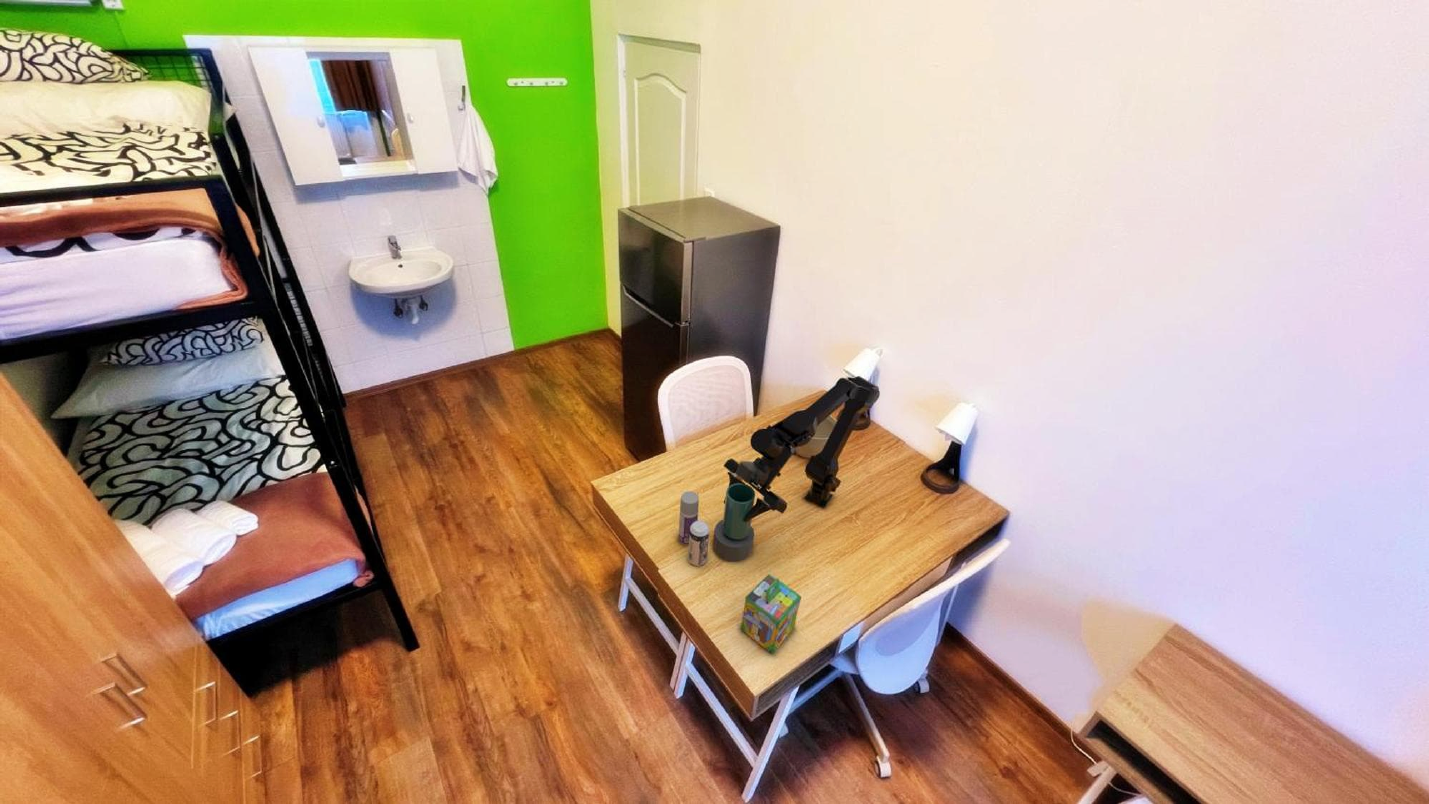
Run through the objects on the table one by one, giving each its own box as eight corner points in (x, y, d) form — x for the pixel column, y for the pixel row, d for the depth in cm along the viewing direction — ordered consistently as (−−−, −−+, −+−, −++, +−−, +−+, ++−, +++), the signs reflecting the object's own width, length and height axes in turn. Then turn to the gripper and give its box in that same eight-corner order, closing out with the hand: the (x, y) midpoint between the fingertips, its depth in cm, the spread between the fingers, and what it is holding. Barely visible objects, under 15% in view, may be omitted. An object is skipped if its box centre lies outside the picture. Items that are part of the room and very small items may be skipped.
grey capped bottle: (704, 568, 139) (707, 535, 132) (686, 564, 139) (688, 531, 133) (708, 554, 143) (711, 521, 136) (690, 550, 143) (692, 517, 137)
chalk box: (772, 655, 121) (781, 613, 112) (739, 629, 125) (746, 587, 117) (795, 627, 127) (806, 586, 118) (763, 603, 131) (771, 562, 123)
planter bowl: (836, 467, 175) (843, 440, 169) (786, 464, 175) (791, 436, 169) (828, 436, 189) (834, 410, 183) (781, 433, 188) (786, 407, 182)
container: (698, 535, 148) (702, 493, 139) (692, 548, 144) (695, 506, 136) (682, 530, 149) (684, 488, 140) (675, 542, 145) (677, 500, 137)
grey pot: (726, 526, 151) (727, 511, 148) (758, 543, 147) (761, 528, 144) (705, 549, 144) (706, 534, 141) (739, 568, 140) (741, 553, 137)
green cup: (747, 518, 145) (752, 482, 138) (751, 538, 139) (757, 502, 132) (720, 519, 144) (724, 483, 137) (724, 540, 138) (728, 503, 131)
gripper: (732, 432, 136) (694, 482, 137) (785, 474, 125) (743, 529, 125) (752, 446, 145) (717, 493, 145) (804, 486, 133) (765, 538, 134)
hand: (734, 512), depth 137 cm, fingers closed on green cup, 7 cm apart
